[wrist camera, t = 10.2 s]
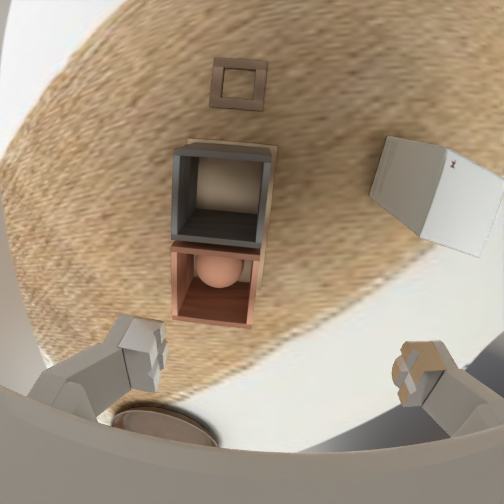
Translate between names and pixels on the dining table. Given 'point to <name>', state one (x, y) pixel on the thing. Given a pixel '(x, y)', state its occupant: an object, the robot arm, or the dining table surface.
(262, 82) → the ball stand
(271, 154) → the stacked cubby shelf
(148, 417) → the plant saucer
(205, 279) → the ball
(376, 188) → the supplement box
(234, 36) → the dining table surface
